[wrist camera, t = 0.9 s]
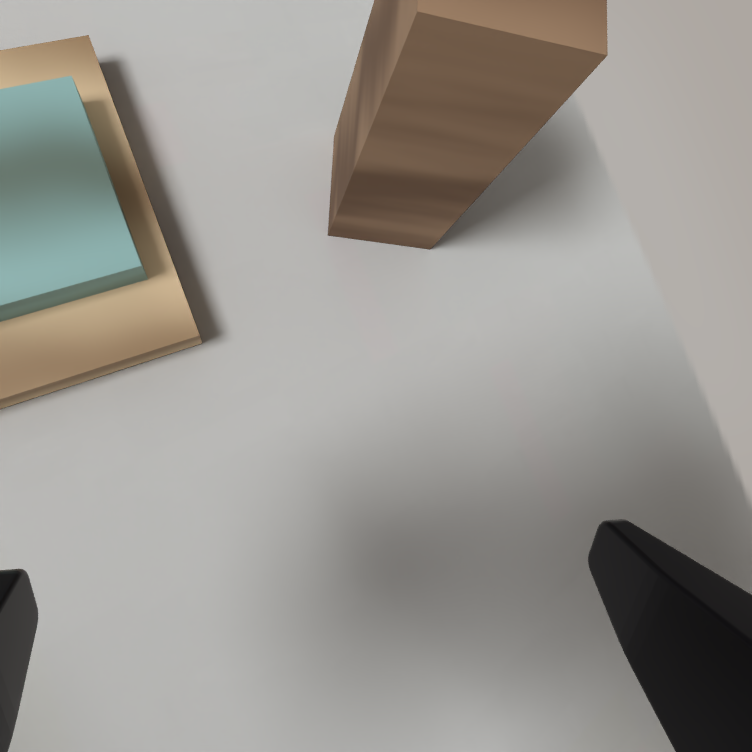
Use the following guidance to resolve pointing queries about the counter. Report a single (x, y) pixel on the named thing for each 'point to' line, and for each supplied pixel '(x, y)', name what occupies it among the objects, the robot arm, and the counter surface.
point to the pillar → (450, 106)
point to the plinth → (110, 315)
